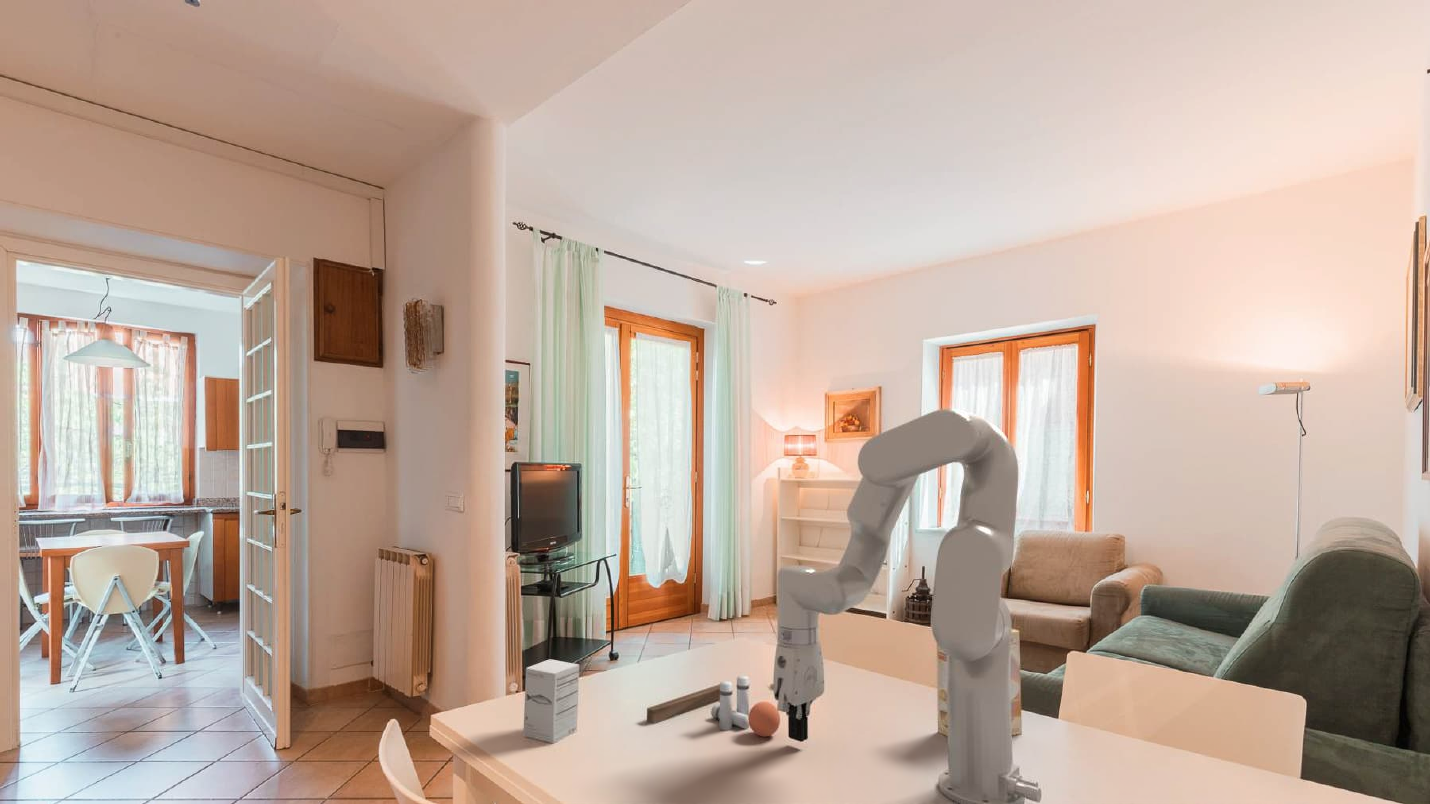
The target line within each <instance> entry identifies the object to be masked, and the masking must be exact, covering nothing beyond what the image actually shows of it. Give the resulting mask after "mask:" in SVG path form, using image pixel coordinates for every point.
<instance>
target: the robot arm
mask: <svg viewBox="0 0 1430 804" xmlns="http://www.w3.org/2000/svg"><path fill="white" fill-rule="evenodd" d="M1017 458H1018V457H1017V455H1016V452H1015V449H1014V447H1013V445H1012V443H1011V441H1010V440H1009V439H1008V436H1006V434H1005V433H1003V432H1002V430H1001V429H1000V428H998V427H997V426H996V425H994V424H993V423H991V422H990V421H988V420H987V419H985V418H983V417H981V416H979V415H978V414H975V413H972V412H969V411H964V410H961V409H956V408H941V409H937V410H933V411H931V412H929V413H927V414H923V415H922V416H919V417H917V418H915V419H912V420H910V421H907V422H904V423H903V424H900V425H898V426H896V427H893V428H891V429H888V430H886V431H883V432H881V433H878V434H876V435H874V436H872V437H871V438H869V439H868V440H866V442H865V443H863V444H862V446H861V448H860V450H859V453H858V457H857V467H858V469H859V472H860V474H861V476H862V477H861V479H860V482H859V484H858V486H857V488H856V490H855V492H854V493H853V496H852V499H851V501H850V503H849V504H848V507H847V510H846V516H847V519H848V522H849V524H850V537H849V541H848V544H847V547H846V548H845V551H844V553H843V555H842V557H841V559H840V561H839V563H838V566H837V567H834V568H830V569H827V570H823V571H817V569H815V568H814V567H811V566H806V565H786V566H782V567H781V568H779V570H778V572H777V579H776V580H777V581H776V583H777V585H776V586H777V589H776V590H777V591H776V592H777V593H776V594H777V596H776V598H777V599H776V601H777V604H776V605H777V607H776V608H777V616H776V617H777V622H776V623H777V627H776V628H777V629H776V630H777V632H776V633H777V634H776V635H777V638H776V639H777V640H776V642H777V644H776V650H775V656H774V665H773V681H772V682H773V685H772V686H773V687H772V688H773V696H774V697H773V698H774V699H775V701H777V706H776V708H777V710H778V712H782V713H785V714H786V716H787V717H788V718H787V719H788V720H787V721H788V723H787V725H788V726H787V727H788V730H787V731H788V738H789V739H791V740H794V741H798V742H799V743H800V742H804V741H807V740H808V738H809V735H808V734H809V731H808V730H809V728H808V726H809V723H808V722H809V721H808V719H809V718H808V716H810V713H811V705H812V703H813V702H815V700H817V698H820V697H821V696H822V695H823V694H824V692H825V669H824V667H825V666H824V658H823V650H822V646H821V642H820V640H819V613H820V614H823V615H826V616H827V615H828V616H834V615H840V614H841V613H844V612H846V611H847V610H849V609H851V608H854V607H856V606H858V605H861V603H863V602H864V600H866V598H867V597H868V595H869V594H870V592H871V590H872V588H873V586H874V585H875V583H876V581H877V579H878V576H879V574H880V571H881V570H882V568H883V566H884V563H885V561H886V557H887V553H888V550H889V546H890V543H891V537H892V533H893V531H894V528H895V526H896V524H897V522H898V520H899V518H900V515H901V514H902V512H903V510H904V507H905V505H906V503H907V501H908V499H909V497H910V495H911V492H912V490H913V488H914V487H915V484H916V482H917V480H918V478H919V476H920V475H922V474H924V473H928V472H930V471H932V470H936V469H937V468H940V467H945V466H946V465H949V464H952V463H959V464H960V465H961V467H962V469H963V478H962V479H963V480H962V483H961V487H960V488H961V490H960V496H959V497H960V499H959V510H958V518H957V523H956V525H955V526H954V527H953V528H951V529H950V530H948V531H947V532H946V534H945V535H944V536H943V537H942V539H941V541H940V544H939V547H938V551H937V555H936V562H935V563H936V564H935V571H934V581H933V592H932V600H931V601H932V602H931V610H930V628H931V632H932V636H933V638H934V641H935V643H936V645H937V644H938V645H939V647H940V648H941V649H942V650H943V651H944V652H945V653H946V654H947V724H948V737H947V761H948V763H947V764H948V765H947V766H948V769H947V770H945V771H943V772H941V774H939V776H938V788H939V790H940V791H941V792H942V794H943V795H944V796H945V797H947V798H949V799H950V800H952V801H954V802H956V803H959V804H1024V802H1025V799H1026V800H1028V801H1032V802H1034V803H1035V802H1036V803H1037V804H1038V803H1041V799H1042V790H1041V788H1039V784H1038V782H1037V781H1034V780H1031V779H1027V778H1023V776H1022V775H1020V765H1016V764H1013V761H1014V760H1013V736H1012V725H1011V678H1010V657H1011V633H1012V629H1013V628H1012V616H1011V613H1010V609H1009V607H1008V605H1007V604H1006V602H1005V600H1004V598H1002V597H1001V594H1002V584H1003V578H1004V575H1005V573H1006V572H1007V571H1008V570H1009V568H1010V567H1011V565H1012V563H1013V561H1014V545H1015V544H1014V543H1015V530H1016V519H1017V518H1016V517H1017V503H1018V502H1017V501H1018V489H1019V488H1018V487H1019V466H1018V459H1017Z"/></svg>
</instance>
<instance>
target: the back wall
mask: <svg viewBox="0 0 1430 804" xmlns="http://www.w3.org/2000/svg"><path fill="white" fill-rule="evenodd" d="M719 700H720V683H719V684H717V685H713V686H711V687H707V688H705V689H701V690H699V691H698V690H697V691H695V692H691V693H689V694H687V695H684V696H680V697H677V698H673V699H670V700H667V701H665V702H662V703H659V704H656V705H653V706H650V707H649V706H648V707H647V708H646V722H648V723H650V724H652V725H655V724H658V723H660V722H663V721H666V720H668V719H671V718H674V716H675V717H676V715H677V716H680V715H682V714H683V715H684V714H685V712H686V713H689V712H691V711H695V710H696V709H699V708H704V707H705V706H709V705H711V704H713V703H716V701H717V702H720V701H719ZM665 719H666V720H665ZM654 723H655V724H654Z"/></svg>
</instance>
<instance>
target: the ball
mask: <svg viewBox="0 0 1430 804" xmlns="http://www.w3.org/2000/svg"><path fill="white" fill-rule="evenodd" d="M780 725H781V715H780V711H779V710H778V709H777V706H775V705H774V704H773V703H771V702H768V701H759V702H758V703H756V704H754V705H753V706H751V709H750V710H749V727H750V729H751V731H752V732H753V733H755V735H758V736H760V737H769V736H772V735H774V734H775V733H776V732H777V731H778V729H779V728H780Z"/></svg>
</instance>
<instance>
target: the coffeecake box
mask: <svg viewBox="0 0 1430 804" xmlns="http://www.w3.org/2000/svg"><path fill="white" fill-rule="evenodd" d="M1020 647H1021V645H1020V630H1018V629H1015V628H1012V633H1011V657H1010V678H1011V725H1012V735H1013V736H1018V735H1022V734H1023V730H1022V729H1023V726H1022V725H1023V724H1022V723H1023V721H1022V691H1021V690H1022V687H1021V686H1022V685H1021V683H1022V682H1021V652H1020V651H1021V650H1020V649H1021V648H1020ZM936 683H937V684H936V689H937V691H936V693H937V732H938V733H939V734H941V735H944V736H946V737H947V738H948V724H947V654H946V653H945V652H944V651H943V650H942V649H941V648H940V647H939V645H938V644H937V643H936ZM1016 734H1017V735H1016Z"/></svg>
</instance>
